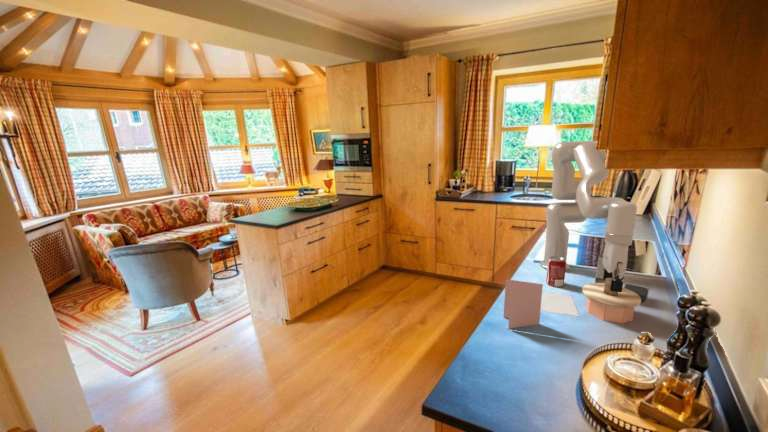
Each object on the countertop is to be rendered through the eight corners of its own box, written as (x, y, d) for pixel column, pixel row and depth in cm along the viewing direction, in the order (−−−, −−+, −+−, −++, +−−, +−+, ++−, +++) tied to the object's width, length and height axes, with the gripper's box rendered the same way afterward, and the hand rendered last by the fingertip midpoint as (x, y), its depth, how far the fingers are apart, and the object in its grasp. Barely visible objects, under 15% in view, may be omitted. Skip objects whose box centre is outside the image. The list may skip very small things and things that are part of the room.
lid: (578, 282, 126) (580, 268, 125) (631, 288, 120) (634, 273, 118) (587, 303, 111) (589, 287, 109) (648, 311, 104) (651, 294, 103)
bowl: (583, 302, 125) (585, 285, 123) (624, 307, 120) (626, 290, 119) (590, 319, 113) (592, 301, 112) (636, 326, 108) (639, 307, 107)
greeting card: (539, 323, 112) (542, 283, 108) (539, 335, 105) (543, 292, 102) (503, 317, 116) (505, 278, 113) (501, 328, 110) (504, 287, 106)
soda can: (566, 288, 136) (568, 261, 134) (548, 287, 138) (550, 261, 135) (560, 282, 143) (563, 256, 140) (544, 281, 144) (546, 255, 141)
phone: (648, 288, 134) (644, 301, 123) (647, 290, 134) (644, 303, 123) (625, 283, 139) (620, 296, 128) (625, 285, 139) (620, 298, 128)
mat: (527, 291, 135) (527, 290, 135) (571, 297, 129) (571, 295, 129) (528, 310, 121) (529, 309, 121) (578, 317, 115) (578, 316, 115)
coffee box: (612, 299, 127) (617, 260, 123) (593, 294, 131) (597, 256, 127) (617, 291, 133) (622, 253, 129) (599, 286, 137) (603, 250, 134)
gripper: (599, 230, 119) (594, 274, 123) (612, 245, 104) (605, 294, 108) (624, 232, 117) (617, 276, 121) (640, 247, 101) (632, 298, 105)
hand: (611, 285), depth 114 cm, fingers open, 9 cm apart
